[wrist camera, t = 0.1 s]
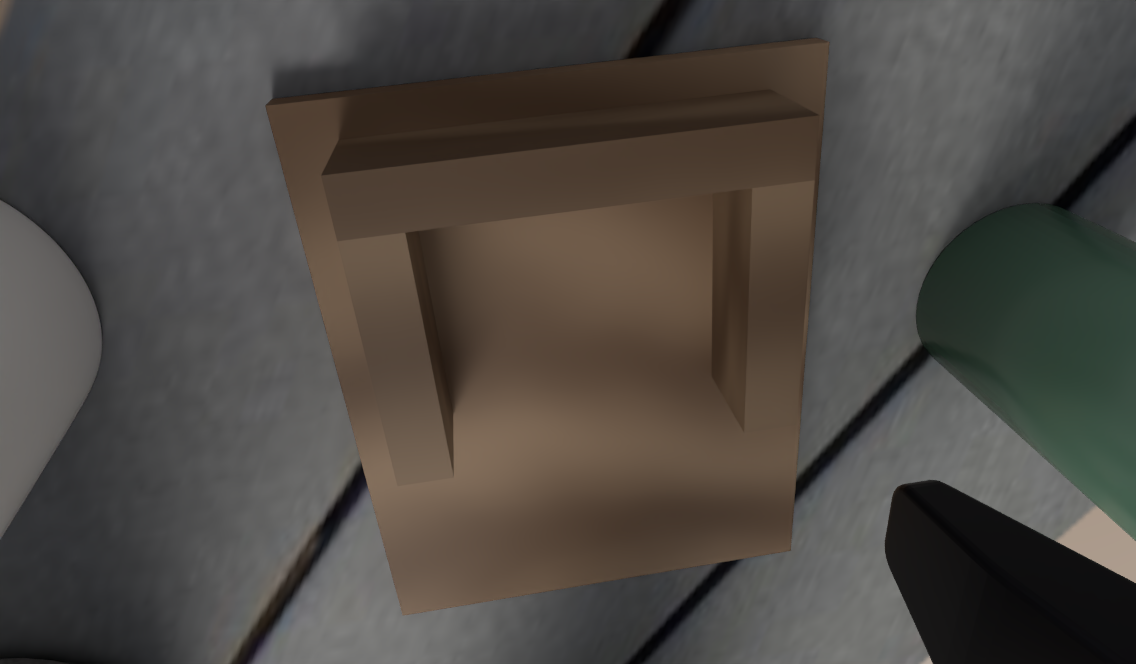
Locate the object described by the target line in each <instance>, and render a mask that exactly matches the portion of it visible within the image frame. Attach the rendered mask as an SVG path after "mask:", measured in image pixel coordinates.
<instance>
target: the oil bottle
mask: <svg viewBox="0 0 1136 664" xmlns="http://www.w3.org/2000/svg"><path fill="white" fill-rule="evenodd" d="M916 322H917V329H918V334H919V337H920V339H921V342H922V344H923V346H924V347H925V349H926V350H927V352H928V353H929V354H930V355H931V356H932V357H933V358H934V359H935V360H936V361H937V362H938V363H939V364H941V365H942V366H943V367H944V368H945V369H946V370H947V371H948V372H949V373H950V374H952V375H953V376H954V377H955V378H956V379H957V380H958V381H959V382H960V383H962V384H963V385H964V386H965V387H966V388H967V389H968V390H969V391H970V392H971V393H973V394H974V395H975V396H976V397H977V398H978V399H979V400H980V401H981V402H983V403H984V404H985V405H986V406H987V407H988V408H989V409H990V410H991V411H992V412H994V413H995V414H996V415H997V416H998V417H999V418H1000V419H1001V420H1002V421H1004V422H1005V423H1006V424H1007V425H1008V426H1009V427H1010V428H1011V429H1012V430H1013V431H1015V432H1016V433H1017V434H1018V435H1019V436H1020V437H1021V438H1022V439H1023V440H1025V441H1026V442H1027V443H1028V444H1029V445H1030V446H1031V447H1032V448H1033V449H1034V450H1036V451H1037V452H1038V453H1039V454H1040V455H1041V456H1042V457H1043V458H1044V459H1046V460H1047V461H1048V462H1049V463H1050V464H1051V465H1052V466H1053V467H1054V468H1055V469H1057V470H1058V471H1059V472H1060V473H1061V474H1062V475H1063V476H1064V477H1065V478H1067V479H1068V480H1069V481H1070V482H1071V483H1072V484H1073V485H1074V486H1075V487H1076V488H1078V489H1079V490H1080V491H1081V492H1082V493H1083V494H1084V495H1085V496H1086V497H1088V498H1089V499H1090V500H1091V501H1092V502H1093V503H1094V504H1095V505H1096V506H1097V507H1099V508H1100V509H1101V510H1102V511H1103V512H1104V513H1105V514H1106V515H1108V516H1109V517H1110V518H1111V519H1112V520H1113V521H1114V522H1115V523H1116V524H1117V525H1119V526H1120V527H1121V528H1122V529H1123V530H1124V531H1125V532H1126V533H1128V534H1129V535H1130V536H1131V537H1132V538H1133V539H1134V540H1135V541H1136V242H1134V241H1131V240H1129V239H1127V238H1125V237H1123V236H1121V235H1119V234H1117V233H1114V232H1112V231H1110V230H1108V229H1106V228H1104V227H1102V226H1100V225H1097V224H1095V223H1093V222H1091V221H1089V220H1087V219H1085V218H1083V217H1080V216H1078V215H1076V214H1074V213H1072V212H1070V211H1068V210H1065V209H1063V208H1061V207H1058V206H1054V205H1050V204H1040V203H1032V204H1022V205H1017V206H1012V207H1009V208H1006V209H1002V210H999V211H997V212H995V213H993V214H990V215H988V216H986V217H984V218H983V219H981V220H979V221H978V222H976V223H974V224H973V225H971V226H970V227H969V228H967V229H966V230H964V231H963V232H962V233H961V234H960V235H959V236H958V237H956V238H955V239H954V240H953V241H952V242H951V243H950V244H949V245H948V246H947V247H946V248H945V249H944V251H943V252H942V253H941V255H940V256H939V257H938V258H937V260H936V261H935V263H934V264H933V266H932V267H931V269H930V271H929V272H928V275H927V277H926V279H925V281H924V283H923V286H922V288H921V291H920V294H919V299H918V303H917V312H916Z"/></svg>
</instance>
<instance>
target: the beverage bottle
mask: <svg viewBox="0 0 1136 664" xmlns="http://www.w3.org/2000/svg"><path fill="white" fill-rule="evenodd" d="M0 664H68V663H63V662H58V661H53V660H41V659H28V658H13V659H0Z"/></svg>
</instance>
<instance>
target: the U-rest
mask: <svg viewBox="0 0 1136 664" xmlns="http://www.w3.org/2000/svg"><path fill="white" fill-rule="evenodd" d="M828 55H829V42H828V41H825V40H822V39H818V38H810V39H801V40H792V41H783V42H774V43H765V44H756V45H748V46H739V47H730V48H721V49H712V50H703V51H694V52H685V53H676V54H668V55H659V56H650V57H641V58H632V59H623V60H614V61H605V62H596V63H587V64H579V65H570V66H561V67H552V68H543V69H534V70H525V71H516V72H507V73H499V74H490V75H481V76H472V77H463V78H454V79H445V80H436V81H427V82H419V83H410V84H401V85H392V86H383V87H374V88H365V89H356V90H347V91H339V92H330V93H321V94H312V95H303V96H294V97H285V98H276V99H272V100H271V101H270V102H269V103H268V104H267V105H266V110H267V114H268V118H269V121H270V125H271V129H272V132H273V136H274V140H275V143H276V147H277V151H278V155H279V158H280V162H281V166H282V169H283V173H284V177H285V181H286V184H287V188H288V192H289V195H290V199H291V203H292V206H293V210H294V214H295V218H296V221H297V225H298V229H299V232H300V236H301V240H302V244H303V247H304V251H305V255H306V258H307V262H308V266H309V270H310V273H311V277H312V281H313V284H314V288H315V292H316V295H317V299H318V303H319V307H320V310H321V314H322V318H323V321H324V325H325V329H326V333H327V336H328V340H329V344H330V347H331V351H332V355H333V358H334V362H335V366H336V370H337V373H338V377H339V381H340V384H341V388H342V392H343V396H344V399H345V403H346V407H347V410H348V414H349V418H350V421H351V425H352V429H353V433H354V436H355V440H356V444H357V447H358V451H359V455H360V459H361V462H362V466H363V470H364V473H365V477H366V481H367V485H368V488H369V492H370V496H371V499H372V503H373V507H374V510H375V514H376V518H377V522H378V525H379V529H380V533H381V536H382V540H383V544H384V548H385V551H386V555H387V559H388V562H389V566H390V570H391V573H392V577H393V581H394V585H395V588H396V592H397V596H398V599H399V603H400V607H401V611H402V614H403V615H409V614H415V613H421V612H427V611H433V610H439V609H445V608H451V607H457V606H463V605H469V604H475V603H481V602H487V601H493V600H499V599H505V598H511V597H517V596H523V595H529V594H535V593H541V592H547V591H553V590H559V589H565V588H571V587H577V586H583V585H589V584H595V583H600V582H606V581H612V580H618V579H624V578H630V577H636V576H642V575H648V574H654V573H660V572H666V571H672V570H678V569H684V568H690V567H696V566H702V565H708V564H714V563H720V562H726V561H732V560H738V559H744V558H750V557H756V556H762V555H768V554H774V553H780V552H786V551H791V538H792V525H793V512H794V499H795V486H796V473H797V460H798V447H799V434H800V421H801V408H802V395H803V381H804V368H805V355H806V342H807V329H808V316H809V303H810V290H811V277H812V264H813V251H814V238H815V225H816V212H817V198H818V185H819V172H820V159H821V146H822V133H823V120H824V107H825V94H826V81H827V68H828Z"/></svg>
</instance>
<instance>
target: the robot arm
mask: <svg viewBox="0 0 1136 664" xmlns="http://www.w3.org/2000/svg"><path fill="white" fill-rule="evenodd" d="M885 554H886V559H887V562H888V565H889V568H890V570H891V572H892V574H893V577H894V579H895V581H896V583H897V585H898V588H899V590H900V592H901V594H902V596H903V599H904V601H905V603H906V605H907V607H908V610H909V612H910V614H911V616H912V618H913V621H914V623H915V625H916V627H917V629H918V632H919V634H920V636H921V638H922V640H923V643H924V645H925V647H926V649H927V652H928V654H929V656H930V658H931V660H932V662H933V664H1136V583H1134V582H1132V581H1130V580H1128V579H1127V578H1125V577H1123V576H1121V575H1119V574H1117V573H1115V572H1113V571H1111V570H1109V569H1108V568H1106V567H1104V566H1102V565H1100V564H1098V563H1096V562H1094V561H1092V560H1090V559H1088V558H1087V557H1085V556H1083V555H1081V554H1078V553H1077V552H1075V551H1073V550H1071V549H1069V548H1067V547H1066V546H1064V545H1062V544H1060V543H1058V542H1056V541H1054V540H1052V539H1050V538H1048V537H1046V536H1044V535H1043V534H1041V533H1039V532H1037V531H1035V530H1033V529H1031V528H1029V527H1027V526H1025V525H1023V524H1022V523H1020V522H1018V521H1016V520H1014V519H1012V518H1010V517H1008V516H1006V515H1004V514H1002V513H1001V512H999V511H997V510H995V509H993V508H991V507H989V506H987V505H985V504H983V503H981V502H980V501H978V500H976V499H974V498H972V497H970V496H968V495H966V494H964V493H962V492H960V491H959V490H957V489H955V488H953V487H951V486H949V485H947V484H945V483H943V482H940V481H937V480H927V481H921V482H914V483H908V484H903V485H900V486H898V487H897V488H896V490H895V491H894V493H893V497H892V502H891V508H890V514H889V520H888V526H887V532H886V538H885Z"/></svg>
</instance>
